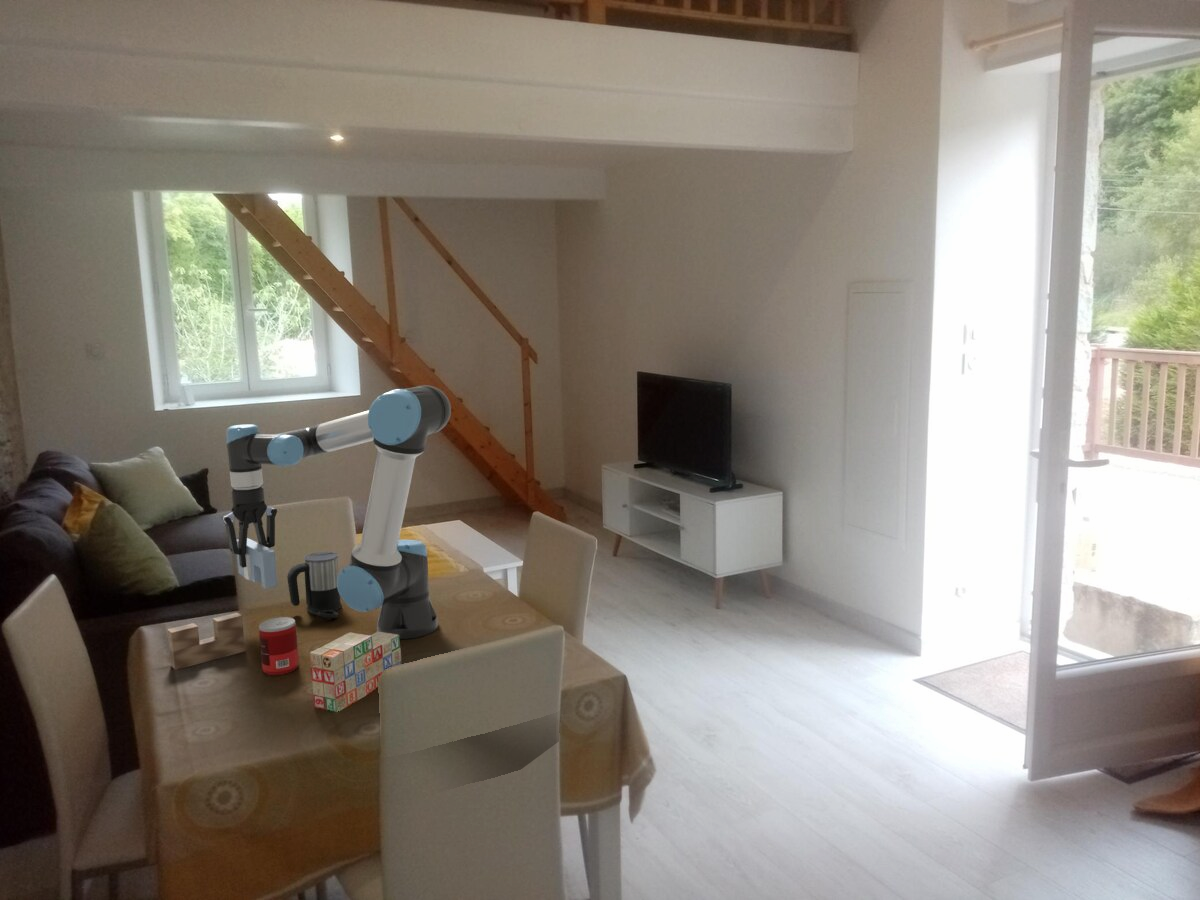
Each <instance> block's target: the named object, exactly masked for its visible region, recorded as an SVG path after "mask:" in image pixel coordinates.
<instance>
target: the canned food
mask: <svg viewBox="0 0 1200 900" xmlns="http://www.w3.org/2000/svg"><path fill="white" fill-rule="evenodd" d="M296 624H297V623H296V620H295V619H294V618H292V617H285V616H283V617H281V616H280V617H274V618H270V619H267V620H264V621H262V622H261V623H260V624H258V634H259V635H258V636H259V648H260V656H261V667H262V672H263V673H264V674H266V675H269V676H280V675H286V674H289V673H291V672H293V671H295V670H296V669H298V666H299V651H298V637H297V636H298V635H297V626H296Z"/></svg>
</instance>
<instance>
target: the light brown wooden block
mask: <svg viewBox="0 0 1200 900" xmlns="http://www.w3.org/2000/svg"><path fill="white" fill-rule="evenodd" d="M212 623H213V624H212V625H213V634H214V636H212V637H211V636H210V637H207V638H204V639H200V635H199V634H200V633H199V626H198V625H197V624H196V623H194V622H192V623H187V624H185V625H180V626H176V627H171V628H168V629H167V639H168V649H169V658H170V659H169V660H170V666H171V667H172V668H173V669H174V671H177V670H181V669H184V668H188V667H191V666H195V665H199V664H203V663H207V662H210V661H214V660H218V659H221V658H225V657H229V656H232V655H236V654H241V653H245V652H246V646H245V634H244V623H243V615H242V614H240V613H239V612H233V613H230V614H226V615H225V614H224V615H222V616H221V615H220V616H217V617H213V618H212Z"/></svg>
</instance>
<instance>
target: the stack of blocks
mask: <svg viewBox="0 0 1200 900" xmlns="http://www.w3.org/2000/svg"><path fill="white" fill-rule="evenodd" d="M400 640H401V639H399V635H397V634H391V633H384V632H378V631H377V630H376V632H374V633H372V634H369V635H368V634H364V633H363V634H362V633H355V632H351V631H350V632H347V633H345V634H343V635H342V636H339V637H338V638H336V639H334V640H332V641H330V642H328V643H326V644H324V645H323V646H321V647H318V648H316V649H314V650H311V651H310V653H309V658H310V659H309V660H310V677H311V683H312V684H311V685H312V693H313V694H312V695H313V696H312V697H313V698H312V699H313V708H316V709H319V708H321V709H320V710H324V709H326V711H328V710H330V711H329V712H333V711H334V712H333V713H338V711H339V712H340V711H342V710H344V709H346V708H347V707H349V706H351V705H353V704H354V703H356V702H358V701H359V700H361V699H362V698H364V697H366V696H367V695H369V694H370V693H372V692H374V691H375V690H377V689H378V688H377V682H378V678H379V677H380V675H381V674H382V672H383V671H384V670H385V669H387V668H389V667H392V666H395V665H399V664H401V665H402V652H401V650H402V649H401V643H400ZM376 688H377V689H376ZM373 690H374V691H373ZM352 703H353V704H352Z"/></svg>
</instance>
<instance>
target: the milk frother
mask: <svg viewBox="0 0 1200 900" xmlns="http://www.w3.org/2000/svg"><path fill="white" fill-rule="evenodd" d="M339 555H340V554H339V553H337V552H333V551H319V552H314V553H309V554H307V555H305V556H304V557H303V560H304V561H305V562H303V563H299V564H295V565H294V566H292V567H291V568H290V569H289V571H288V573H287V585H288V591H289V598H290V603H291V605H293V606H295V607H297V606H299V605H300V604H301V603H300V602H301V601H300V593H299V585H298V577H299V575H300V574H301V573H304V587H305V602H306V605H307V606H306V610H307V612H308V613H309V614H312V615H313V614H314V615H316V616H319V617H323V618H325V619H328V620H329V621H331V620H332V619H333V618H338V617H339V613H338V612H336V611H337V610H339V609H341V608H342V606H343V603H341V601H342V600H341V596H340V594H339V592H338V588H337V578H338V575H339V573H340V572H339V559H338V558H339Z"/></svg>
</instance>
